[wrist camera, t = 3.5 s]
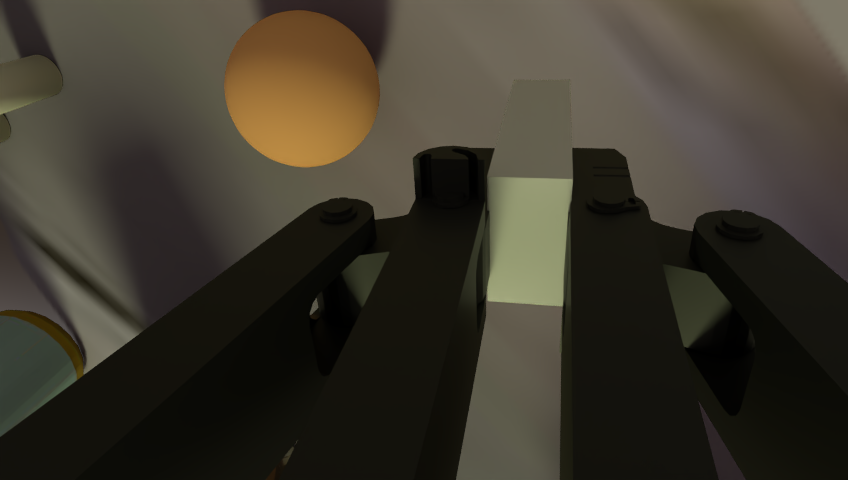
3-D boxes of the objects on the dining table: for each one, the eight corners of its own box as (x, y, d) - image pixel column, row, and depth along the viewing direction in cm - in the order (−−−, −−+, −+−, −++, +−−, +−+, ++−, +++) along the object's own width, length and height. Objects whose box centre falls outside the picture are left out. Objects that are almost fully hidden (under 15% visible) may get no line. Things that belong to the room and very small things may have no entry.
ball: (390, -3, 24) (341, 21, 19) (400, 139, 27) (361, 194, 22) (254, 2, 25) (174, 26, 20) (279, 137, 28) (214, 188, 23)
